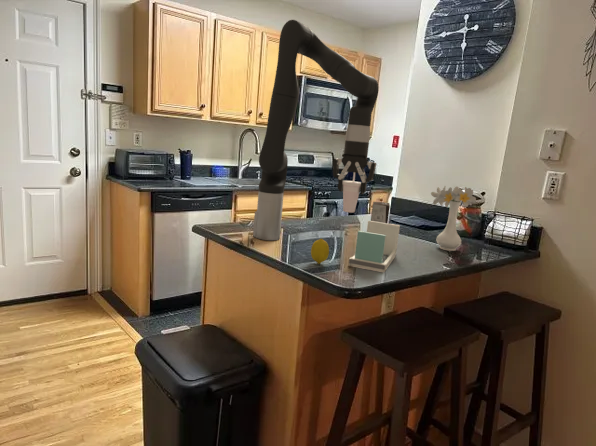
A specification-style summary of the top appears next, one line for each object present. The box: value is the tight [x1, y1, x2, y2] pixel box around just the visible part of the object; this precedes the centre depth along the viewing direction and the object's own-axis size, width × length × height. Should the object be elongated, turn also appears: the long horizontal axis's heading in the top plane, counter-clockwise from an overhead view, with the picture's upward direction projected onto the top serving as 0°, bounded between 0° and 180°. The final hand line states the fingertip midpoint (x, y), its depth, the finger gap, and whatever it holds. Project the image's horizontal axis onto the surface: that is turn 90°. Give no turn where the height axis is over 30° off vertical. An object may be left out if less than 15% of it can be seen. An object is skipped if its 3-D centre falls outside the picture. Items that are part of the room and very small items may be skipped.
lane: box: [348, 220, 401, 273], centre depth 140 cm, size 11×23×11 cm, turn 159°
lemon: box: [310, 238, 330, 265], centre depth 131 cm, size 6×6×8 cm
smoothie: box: [342, 172, 362, 213], centre depth 138 cm, size 6×6×14 cm
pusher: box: [354, 230, 386, 263], centre depth 131 cm, size 8×1×10 cm, turn 69°
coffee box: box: [370, 201, 391, 224], centre depth 164 cm, size 9×6×16 cm
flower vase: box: [430, 185, 477, 252], centre depth 166 cm, size 13×18×25 cm
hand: (351, 192), depth 139 cm, fingers closed on smoothie, 6 cm apart
